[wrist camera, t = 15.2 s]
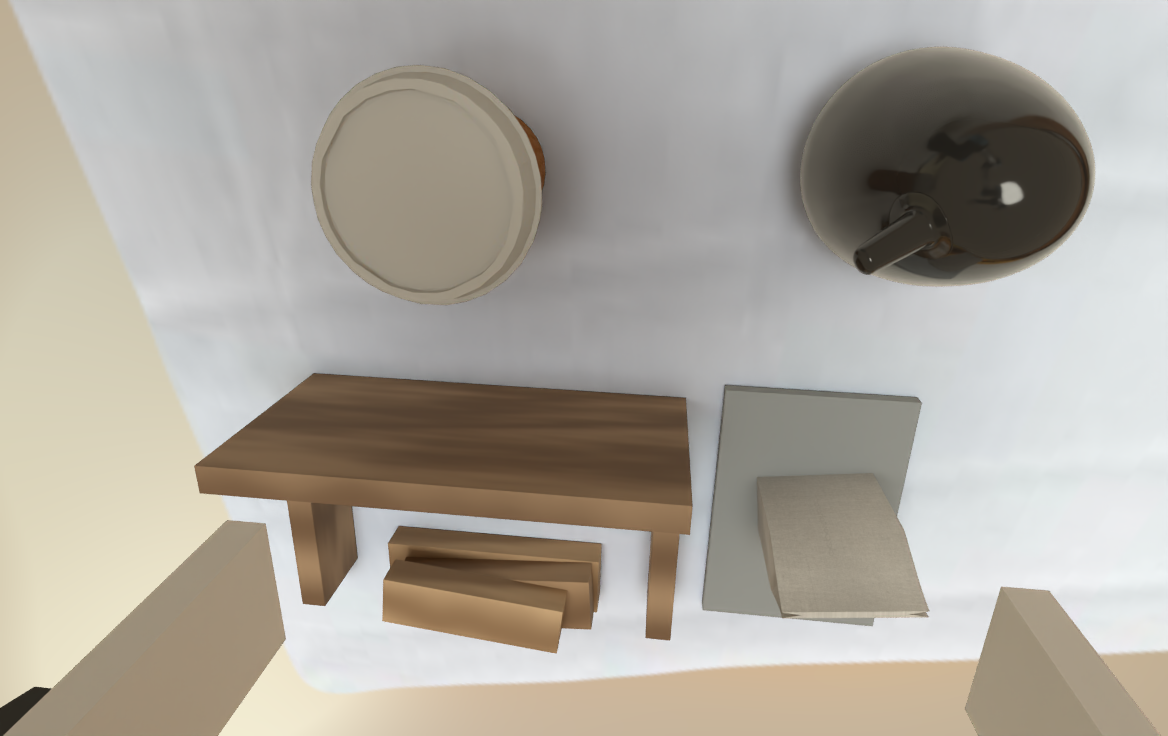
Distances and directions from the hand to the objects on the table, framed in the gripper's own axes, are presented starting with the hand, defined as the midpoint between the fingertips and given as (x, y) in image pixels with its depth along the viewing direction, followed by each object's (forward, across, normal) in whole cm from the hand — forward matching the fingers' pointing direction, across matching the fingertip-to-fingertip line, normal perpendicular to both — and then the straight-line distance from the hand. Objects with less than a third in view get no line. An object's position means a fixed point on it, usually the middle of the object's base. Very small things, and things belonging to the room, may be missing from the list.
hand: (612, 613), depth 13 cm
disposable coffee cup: (+29, -9, +5) cm, 31 cm away
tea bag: (+28, +11, -14) cm, 33 cm away
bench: (+28, -9, -15) cm, 34 cm away
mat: (+28, +10, -15) cm, 34 cm away
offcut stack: (+28, -9, -21) cm, 37 cm away
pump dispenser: (+29, +12, +6) cm, 32 cm away
